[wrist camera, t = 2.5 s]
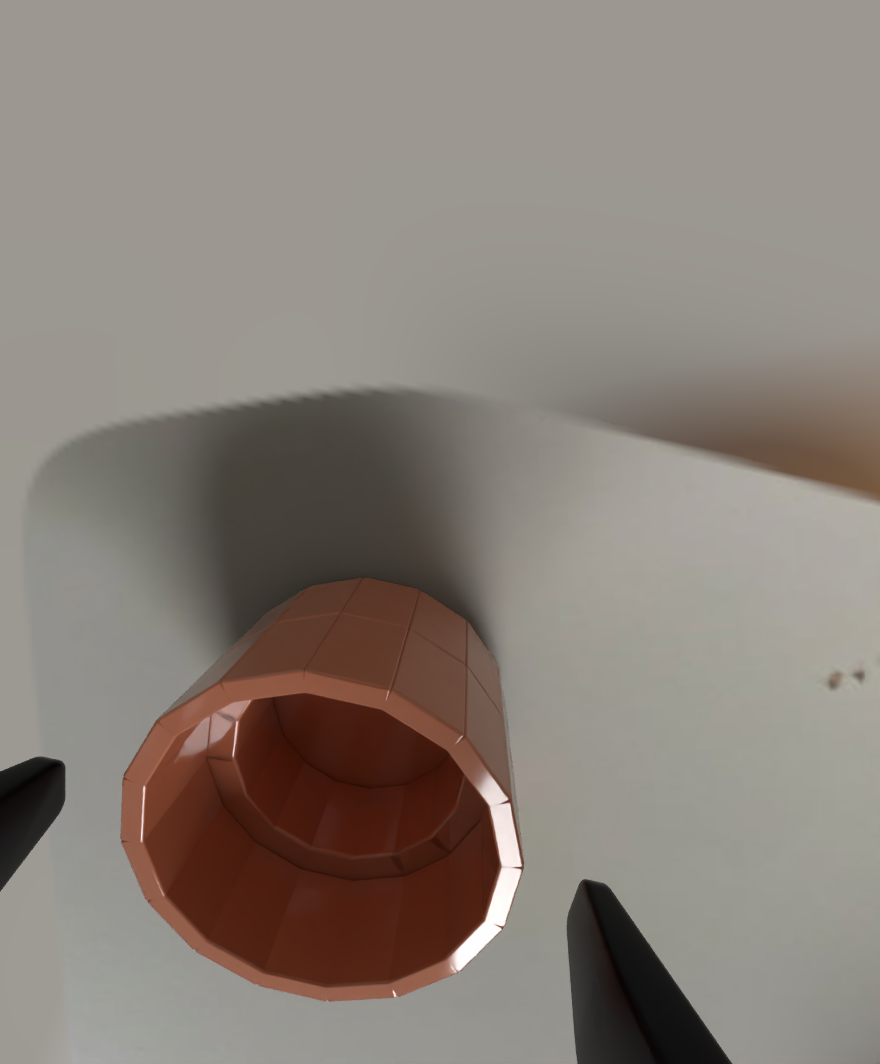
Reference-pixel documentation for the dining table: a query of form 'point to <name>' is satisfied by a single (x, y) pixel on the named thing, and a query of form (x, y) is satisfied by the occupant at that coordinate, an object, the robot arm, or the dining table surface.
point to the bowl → (333, 798)
